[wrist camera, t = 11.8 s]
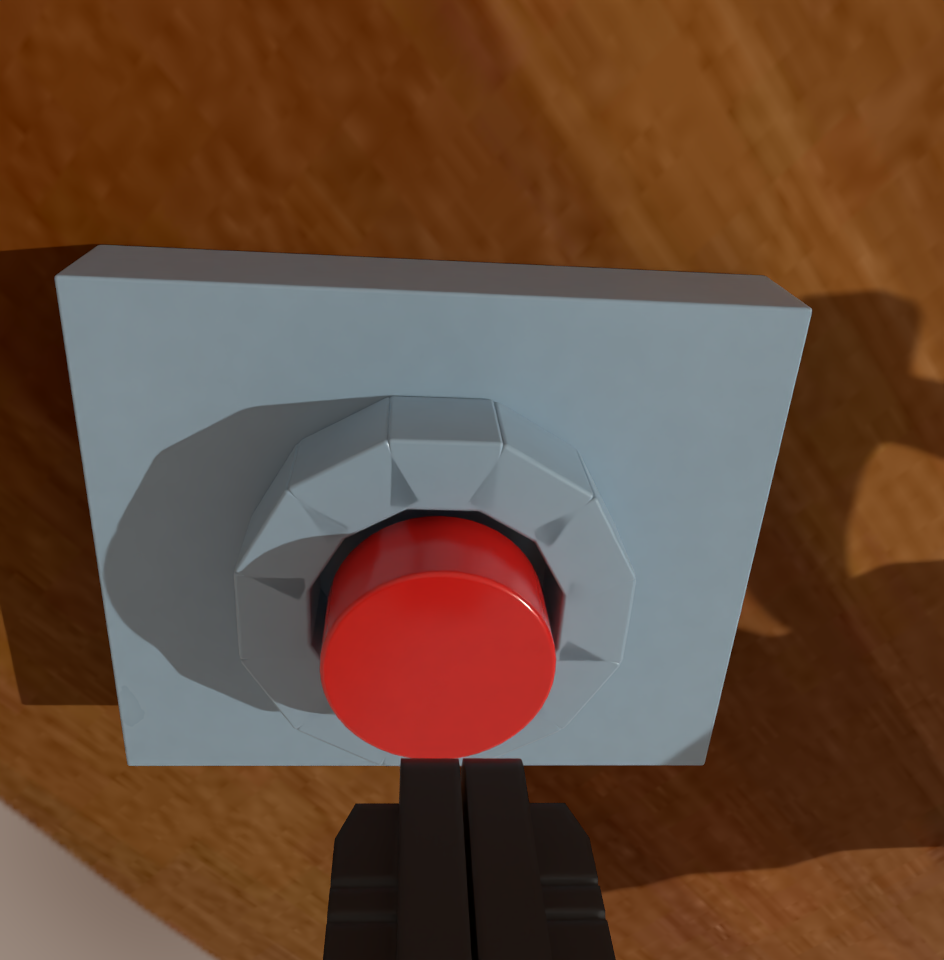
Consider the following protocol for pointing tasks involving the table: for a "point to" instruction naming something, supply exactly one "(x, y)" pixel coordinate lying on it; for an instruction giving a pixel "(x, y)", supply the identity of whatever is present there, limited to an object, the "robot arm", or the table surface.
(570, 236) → the table surface
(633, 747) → the button box
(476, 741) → the button
